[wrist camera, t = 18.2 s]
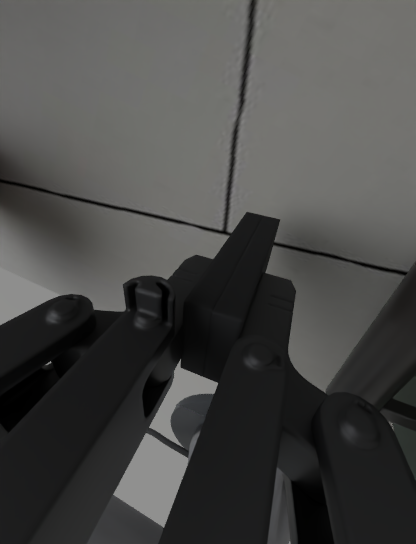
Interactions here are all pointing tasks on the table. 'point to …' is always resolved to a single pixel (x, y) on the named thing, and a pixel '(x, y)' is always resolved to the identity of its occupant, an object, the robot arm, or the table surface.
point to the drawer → (388, 366)
